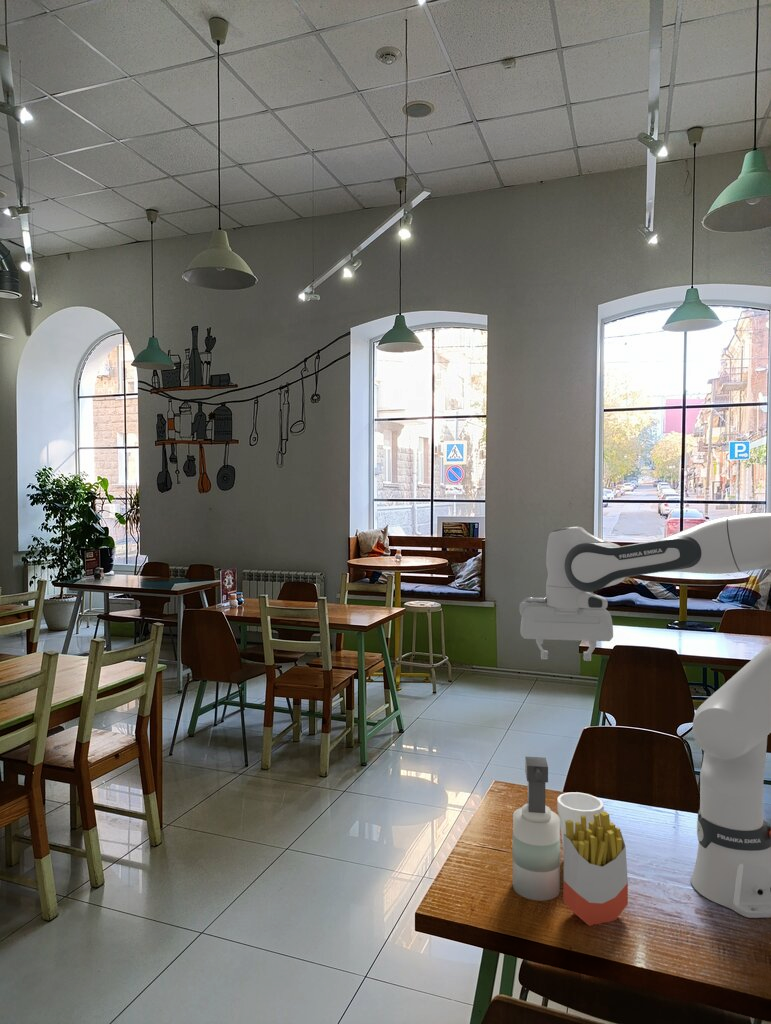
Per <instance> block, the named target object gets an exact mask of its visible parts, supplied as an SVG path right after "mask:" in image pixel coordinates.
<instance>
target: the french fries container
mask: <svg viewBox="0 0 771 1024" xmlns="http://www.w3.org/2000/svg"><path fill="white" fill-rule="evenodd" d="M609 818H610V813H608V812H607V811H605V810H604V812H600V819H599V815H598V814H594V822H593V821H592V822H590V823H589V829H587V828H586V816H585V815H582V816H581V824H580V823H579V822H576V823H575V833H574V826H573V822H572V821H571V820H567V821H565V823H566V834H564V851H563V903H564V904H565V905H566V906H567V907H568V908H569V909H570V910H571V911H572V912H573V913H574V914H575V915H576V916H577V917H578V918H579V919H581V921H583V922H584V923H585V924H586V925H588V926H589V925H590V926H594V924H595V925H600V924H604V923H609V922H614V921H616V920H617V919H618V917H619V916H620V915H621V914H622V912H623V911H624V910H625V909H626V907H627V906H628V903H629V899H628V898H629V891H628V889H629V880H628V865H627V850H626V847H627V846H626V844H625V840H624V837H623V834H622V833H623V832H622V831H621V828H620V827H616V824H615V823H614V822H611V823H610V820H611V819H610V820H609ZM600 825H601V826H600Z"/></svg>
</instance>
